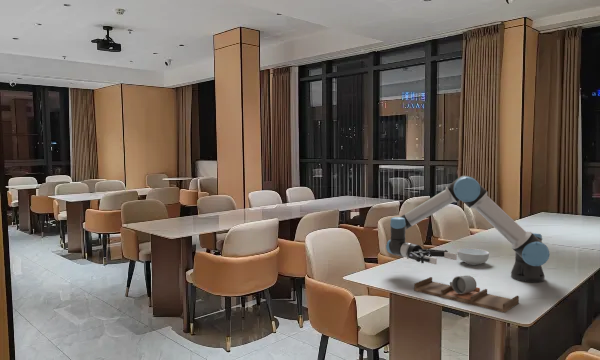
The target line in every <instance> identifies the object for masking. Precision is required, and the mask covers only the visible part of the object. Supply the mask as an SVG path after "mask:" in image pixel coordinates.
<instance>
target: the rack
mask: <svg viewBox="0 0 600 360" xmlns="http://www.w3.org/2000/svg"><path fill="white" fill-rule="evenodd" d="M413 287H414V289H413V290H414V291H415V292H420V293H424V294H428V295H432V296H437V297H441V298H444V299H447V300H452V301H456V302H461V303H465V304H468V305H473V306H476V307H480V308H485V309H489V310H494V311H498V312H501V313H507V312H509V311H510V310H511V309H512V308H515V307H516V306H517V305H519V304H520V303H519V302H520V301H519V300H520V296H519V295H515V296H514V297H512V298H508V297H504V296H500V295H495V294H490V293H488V289H487V288H483V289H482V290H481V288H480V287H477V286H476V289H475V290H474V291H472V292H469V293H464V294H458V293H456V292H455V291H454V289H453V287H452V286H450V284H445V283H440V282H437V281H433V277H427V278H426V279H422V280H419V281H417V282H415V283H414V286H413Z"/></svg>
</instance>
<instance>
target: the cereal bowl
mask: <svg viewBox="0 0 600 360" xmlns="http://www.w3.org/2000/svg"><path fill="white" fill-rule="evenodd" d="M457 257H458V259H459V260H460V261H462V262H463V263H464V262H465V264H466V265H471V266H479V265H481V264H484V263H486V262H487V261H488V260H489V258H490V252H489V251H487V250H485V249H480V248H479V249H478V248H471V247H469V248H467V247H466V248H465V247H464V248H457Z"/></svg>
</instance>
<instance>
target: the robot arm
mask: <svg viewBox="0 0 600 360" xmlns="http://www.w3.org/2000/svg"><path fill="white" fill-rule="evenodd" d="M460 201H461V202H462V203H464V205H465V206H467V207H468V208H469V209H474V210H475V211H476V212H477V213H479V215H480V216H482V217H483V218H484V219H485V220H486V221H487V222H488V223H489V224H490V225H491V226H492V227H494V229H495V230H497V231H498V232H499V233H500V234H501V236H503V237H504V238H505V239H506V240H507V241H508V242H510V244H511V250H513V251H514V252H515V258H514V259H515V260H514V264H513V267H512V268H511V271H510V277H511V279H514V280H517V281H519V282H520V281H521V282H525V283H526V282H527V283H542V282H545V279H546V278H545V272H544V270H543V266H544V265H545V264H546V263H547V262H548V261H549V259H550V254H551V253H550V249H549V247H548V246H547V244H545V243H543V235H542V234H541V233H536V232H535V233H534V232H532V231H526V230H524V228H522V226H520V224H518V223H517V222H516V221H515V220H514V219H513V218H512V217H511V216H509V215H508V213H506V212H505V211H504V210H503V208H502V207H500V206H499V205H498V204H497V203H495V201H494V200H492V198H491V197H489V196H488V191H487V190H486V189H485V187H483V186H482V185H481V184H480V183H479V182H478V181H477V180H476V179H475V178H474V177H472V176H470V175H461V176H459V177H458V178H456V179H455V180H454V181H453V182H451V183H450V184H448V185H447V186H445V189H444V190H442V191H440V192H439V193H437V194H436V195H434V196H432V197H431V198H429V199H427V200H426V201H424V202H422V203H421V204H419V205H417V206H416V207H414V208H412V209H411V210H409V211H408V212H406V213H404V214H402V215H401V216H399V217H398V216H395V217H391V218H390V223H389V224H390V239H388V241H387V242H386V245H385V250H386V251H387V253H389V254H392V255H394V256H399V257H402V258H406V259H407V260H409V259H410V260H413V261H416V262H418V263H421V264H424V263H428V264H431V265H432V264H433V265H438V264H437V261H438V260H437V257H439V258H440V257H441V258H445V259H449V260H452V261H453V260H454V261H457V260H458V259H457V257H458V253H453V252H449V251H448V250H446V249H445V250H443V249H432V248H422V246H421V245H420V244H416V243H412V242H407V241H406V230H409V229H410V228H411V227H414V225H417V224H418V223H420V222H422V221H423V220H425V219H427V218H428V217H430V216H432V215H434V214H435V213H437V212H439V211H441V210H442V209H444V208H445V207H447V206H449V205H451V204H452V203H458V202H460Z"/></svg>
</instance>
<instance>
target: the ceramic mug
mask: <svg viewBox="0 0 600 360" xmlns="http://www.w3.org/2000/svg"><path fill="white" fill-rule="evenodd" d="M449 285H450V286H452V287H453V289H454V291H455V292H456V293H458V294H464V293H469V292H472V291H474V290H475V289H476V287H477V286H478V285H477V281H476V279H475V278H474V277H473V276H471V275H458V276H455V277H454V278H452V281H450V282H449Z"/></svg>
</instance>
